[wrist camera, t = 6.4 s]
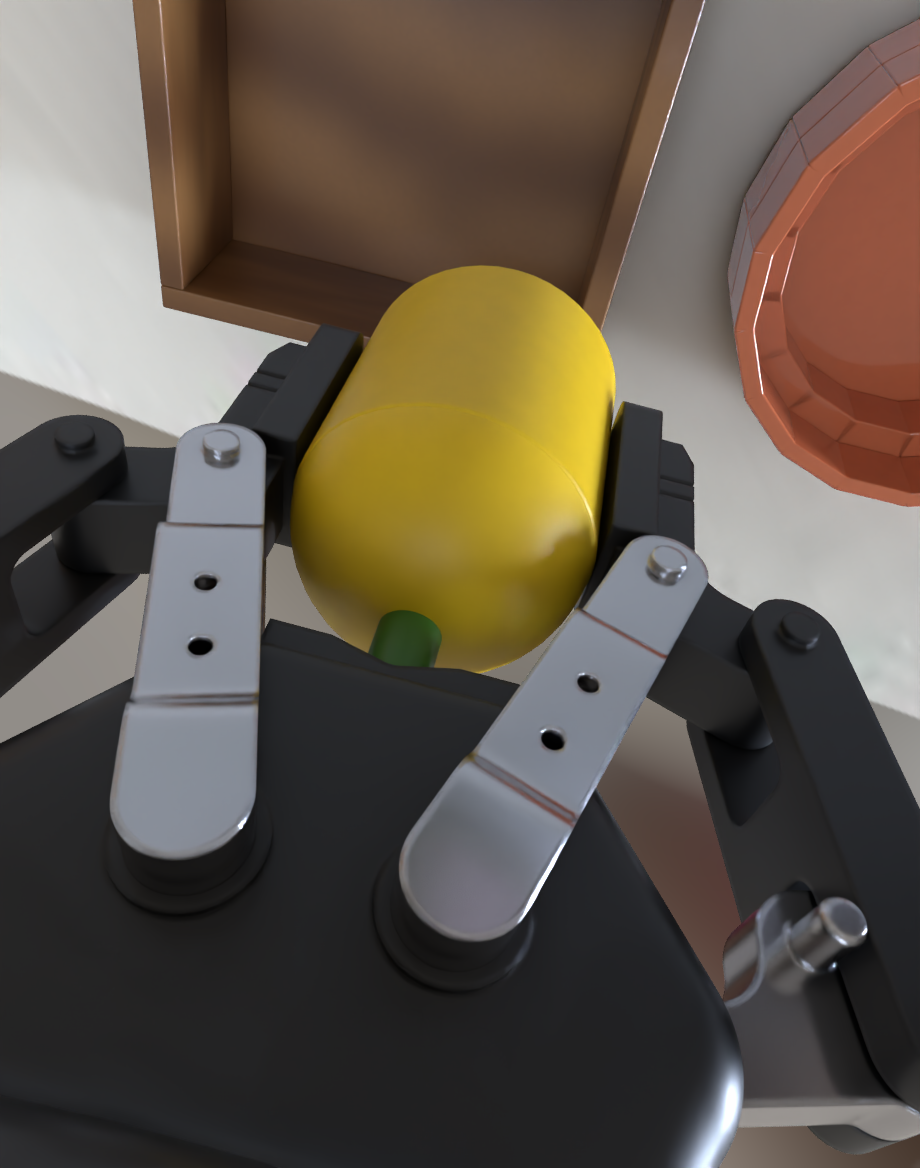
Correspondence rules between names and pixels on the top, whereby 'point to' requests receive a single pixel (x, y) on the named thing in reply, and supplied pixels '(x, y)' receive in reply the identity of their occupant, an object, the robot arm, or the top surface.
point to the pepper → (459, 474)
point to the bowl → (839, 279)
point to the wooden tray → (398, 147)
